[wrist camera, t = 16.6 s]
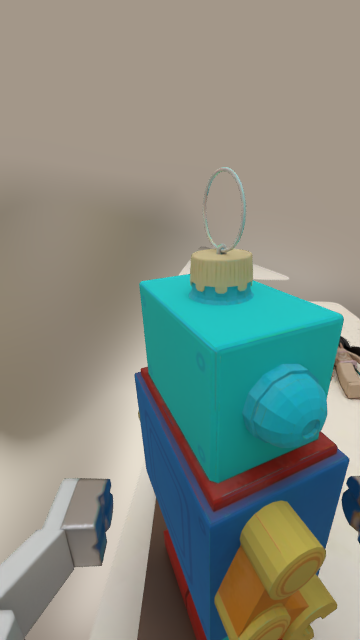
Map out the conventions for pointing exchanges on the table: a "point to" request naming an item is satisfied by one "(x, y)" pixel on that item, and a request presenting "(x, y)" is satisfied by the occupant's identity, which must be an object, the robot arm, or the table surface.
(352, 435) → the table surface
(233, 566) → the toy robot
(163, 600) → the brown slab
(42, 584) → the robot arm
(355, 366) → the toy figure
